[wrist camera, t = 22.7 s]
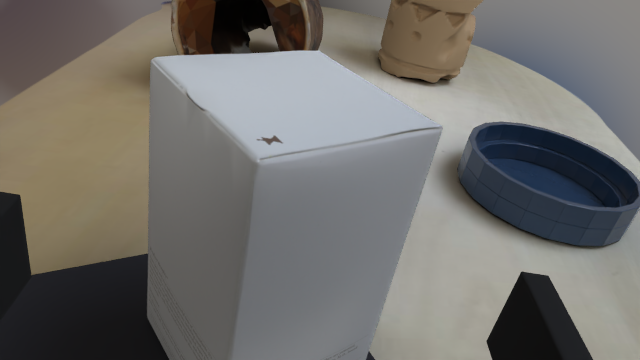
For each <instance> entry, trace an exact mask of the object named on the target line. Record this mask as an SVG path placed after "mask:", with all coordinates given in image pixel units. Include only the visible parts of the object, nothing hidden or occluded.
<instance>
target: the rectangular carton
mask: <svg viewBox="0 0 640 360" xmlns="http://www.w3.org/2000/svg"><path fill="white" fill-rule="evenodd" d="M442 129H443V127H442V126H441V125H439V124H438V123H436V122H434V121H432V120H431V119H429V118H428V117H426V116H424V115H423V114H421V113H419V112H418V111H416V110H414V109H413V108H411V107H409V106H408V105H406V104H404V103H403V102H401V101H400V100H398V99H396V98H395V97H393V96H391V95H390V94H388V93H386V92H385V91H383V90H382V89H380V88H378V87H377V86H375V85H373V84H372V83H370V82H368V81H367V80H365V79H363V78H362V77H360V76H358V75H357V74H355V73H354V72H352V71H350V70H349V69H347V68H346V67H344V66H342V65H341V64H339V63H338V62H336V61H334V60H333V59H331V58H329V57H328V56H326V55H325V54H323V53H322V52H320V51H319V50H317V51H282V52H269V53H249V54H209V55H177V56H163V57H155V58H153V59H152V60H151V68H150V128H149V214H148V291H147V318H148V320H149V322H150V324H151V326H152V328H153V329H154V331H155V333H156V335H157V337H158V339H159V341H160V343H161V345H162V347H163V348H164V350H165V352H166V354H167V356H168V358H169V360H366V358H367V355H368V352H369V349H370V346H371V343H372V340H373V337H374V334H375V331H376V327H377V324H378V321H379V318H380V315H381V312H382V309H383V306H384V303H385V300H386V297H387V294H388V291H389V288H390V285H391V282H392V279H393V276H394V273H395V270H396V267H397V264H398V261H399V258H400V255H401V252H402V249H403V246H404V243H405V240H406V237H407V234H408V231H409V228H410V225H411V222H412V219H413V216H414V213H415V210H416V207H417V204H418V201H419V198H420V195H421V192H422V189H423V186H424V183H425V180H426V177H427V174H428V171H429V168H430V165H431V162H432V159H433V156H434V153H435V150H436V147H437V144H438V142H439V139H440V136H441V133H442Z"/></svg>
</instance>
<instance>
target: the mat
mask: <svg viewBox="0 0 640 360" xmlns="http://www.w3.org/2000/svg"><path fill="white" fill-rule="evenodd" d="M147 291H148V254H143V255H138V256H133V257H127V258H122V259H116V260H111V261H106V262H100V263H95V264H89V265H84V266H79V267H73V268H68V269H62V270H57V271H52V272H46V273H41V274H35V275H31V279H30V280H29V282H28V283H27V284H26V286H25V287H24V288H23V290H22V291H21V293H20V294H19V295H18V297H17V298H16V300H15V301H14V302H13V304H12V305H11V307H10V308H9V309H8V311H7V312H6V314H5V315H4V316H3V318H2V319H1V320H0V360H169V358H168V356H167V354H166V352H165V350H164V348H163V347H162V345H161V343H160V341H159V339H158V337H157V335H156V333H155V331H154V329H153V328H152V326H151V324H150V322H149V320H148V318H147ZM366 360H375V359H374V357H373V356H372V355H371V353H370V352H368V355H367V358H366Z"/></svg>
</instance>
